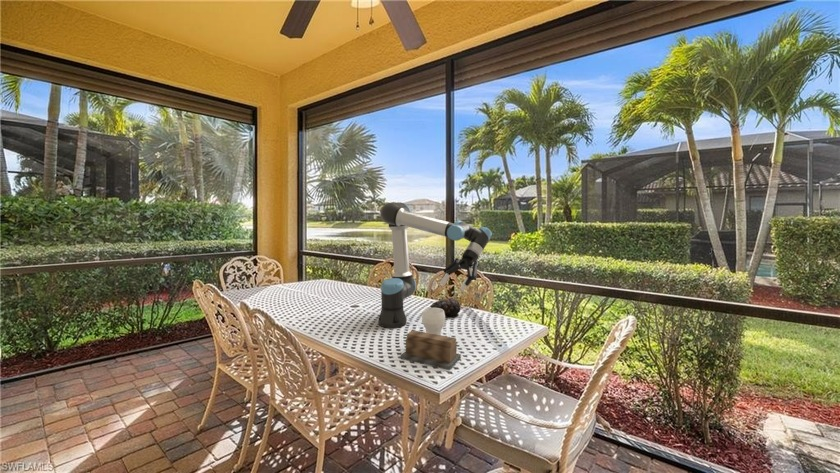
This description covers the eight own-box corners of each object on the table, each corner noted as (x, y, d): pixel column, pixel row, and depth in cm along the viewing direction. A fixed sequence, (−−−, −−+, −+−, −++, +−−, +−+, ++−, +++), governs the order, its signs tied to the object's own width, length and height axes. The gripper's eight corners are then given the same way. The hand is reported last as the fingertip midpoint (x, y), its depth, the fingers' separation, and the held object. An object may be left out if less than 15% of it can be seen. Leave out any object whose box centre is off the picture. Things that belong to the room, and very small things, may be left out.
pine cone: (431, 311, 209) (431, 295, 208) (461, 313, 205) (461, 296, 204) (428, 316, 199) (428, 299, 198) (459, 319, 195) (460, 301, 194)
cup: (443, 347, 156) (443, 314, 155) (420, 345, 158) (420, 313, 157) (446, 338, 167) (446, 307, 165) (424, 336, 169) (424, 306, 167)
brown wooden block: (400, 358, 145) (400, 336, 144) (414, 347, 156) (414, 327, 155) (450, 369, 135) (450, 346, 134) (460, 357, 146) (461, 335, 145)
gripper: (495, 261, 168) (474, 297, 159) (457, 255, 187) (437, 287, 178) (488, 251, 164) (466, 287, 155) (450, 246, 183) (429, 278, 174)
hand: (451, 287), depth 167 cm, fingers open, 13 cm apart
